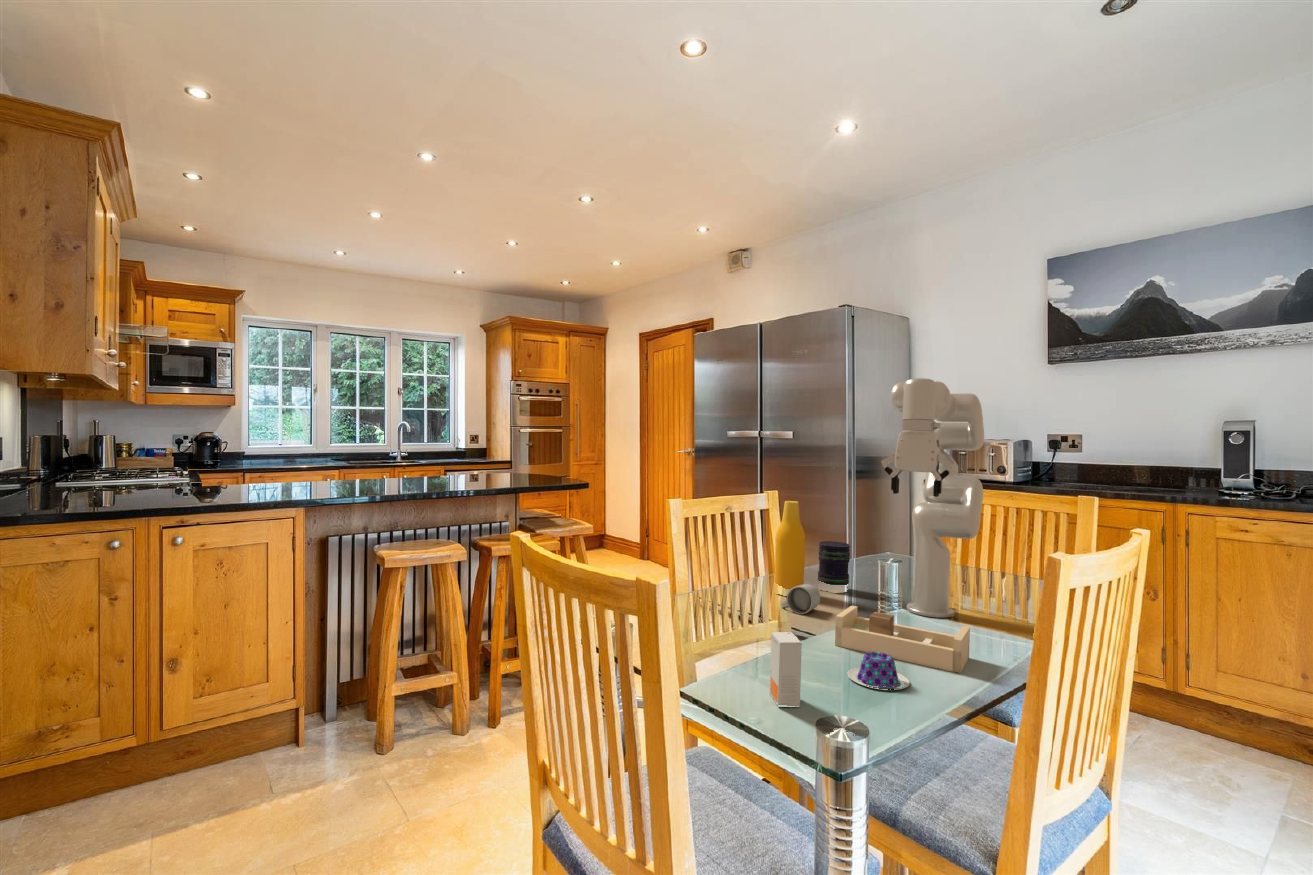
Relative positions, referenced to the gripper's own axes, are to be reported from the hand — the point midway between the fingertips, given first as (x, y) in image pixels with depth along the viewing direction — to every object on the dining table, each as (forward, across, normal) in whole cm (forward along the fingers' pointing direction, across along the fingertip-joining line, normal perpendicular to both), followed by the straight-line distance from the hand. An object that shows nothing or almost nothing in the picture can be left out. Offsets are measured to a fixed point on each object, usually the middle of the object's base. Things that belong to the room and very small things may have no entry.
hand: (915, 494), depth 157 cm
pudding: (+37, -2, +35) cm, 51 cm away
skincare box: (+37, +9, +57) cm, 69 cm away
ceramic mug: (+36, +31, -3) cm, 47 cm away
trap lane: (+36, -1, +14) cm, 38 cm away
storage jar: (+35, +32, -34) cm, 58 cm away
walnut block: (+33, +3, +14) cm, 36 cm away
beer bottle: (+35, +41, -19) cm, 57 cm away
